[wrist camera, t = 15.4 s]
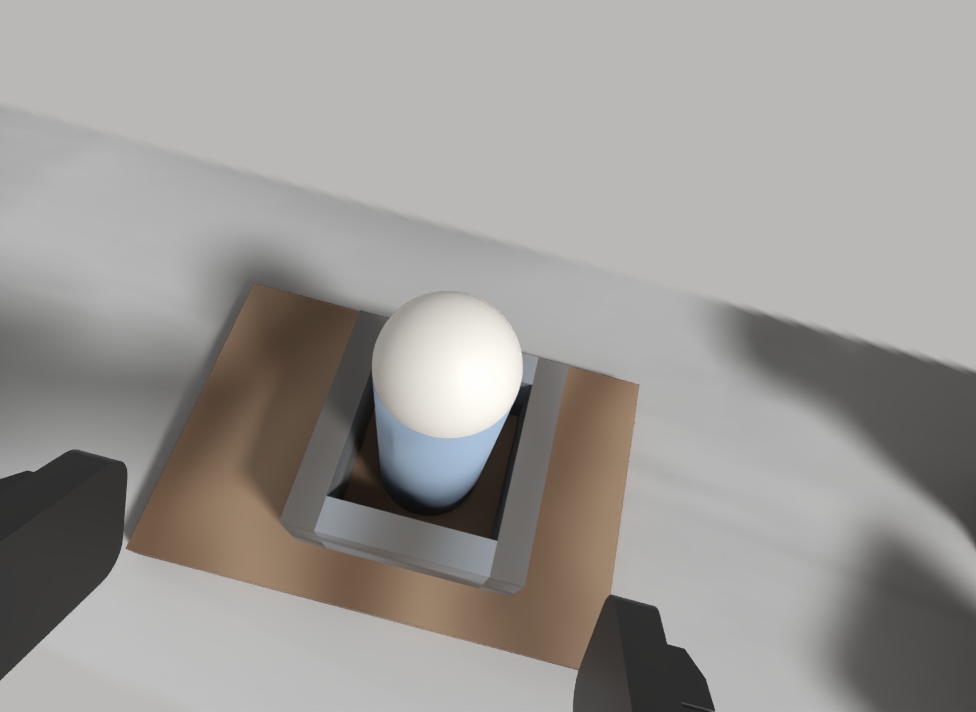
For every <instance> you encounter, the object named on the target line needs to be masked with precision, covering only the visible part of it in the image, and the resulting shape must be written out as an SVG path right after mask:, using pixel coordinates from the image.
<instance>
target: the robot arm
mask: <svg viewBox="0 0 976 712" xmlns="http://www.w3.org/2000/svg"><path fill="white" fill-rule="evenodd" d="M126 489H127V468H126V465H125V464H124V463H123V462H121V461H118V460H114V459H110V458H106V457H103V456H99V455H95V454H92V453H88V452H84V451H80V450H70V451H68V452H66V453H64V454H63V455H61V456H59V457H58V458H56V459H55V460H53V461H51V462H50V463H48V464H47V465H45V466H43V467H42V468H40V469H39V470H37V471H35V472H31V471H24V472H21V473H18V474H15V475H12V476H9V477H5V478H2V479H0V680H1V679H2V678H3V677H4V676H5V675H6V674H7V673H8V672H9V671H10V670H12V668H14V667H15V666H16V665H17V664H18V663H19V662H20V661H21V660H22V659H23V658H24V657H25V656H26V655H27V654H28V653H29V652H30V651H31V650H32V649H33V648H34V647H35V646H36V645H37V644H38V643H39V642H40V641H42V640H43V639H44V638H45V637H46V636H47V635H48V634H49V633H50V632H51V631H52V630H53V629H54V628H55V627H56V626H57V625H58V624H59V623H60V622H61V621H62V620H63V619H64V618H65V617H66V616H67V615H68V614H69V613H71V612H72V611H73V610H74V609H75V608H76V607H77V606H78V605H79V604H80V603H81V602H82V601H83V600H84V599H85V598H86V597H87V596H88V595H89V594H90V593H91V592H92V591H93V590H94V589H95V588H96V587H97V586H98V585H99V584H101V583H102V581H103V580H104V579H105V578H106V577H107V576H108V574H109V573H110V571H111V570H112V568H113V566H114V565H115V563H116V560H117V558H118V556H119V553H120V550H121V546H122V541H123V529H124V515H125V502H126ZM573 712H715V708H714V705H713V702H712V699H711V695H710V692H709V689H708V685H707V682H706V679H705V677H704V676H703V674H702V673H701V672H700V670H699V669H698V667H697V666H696V665H695V663H694V662H693V660H692V659H691V657H690V656H689V655H688V653H687V652H686V650H685V649H683V648H679V647H676V646H672V645H668V644H667V642H666V638H665V634H664V630H663V626H662V622H661V618H660V614H659V611H658V609H657V608H656V607H655V606H652V605H648V604H644V603H641V602H637V601H633V600H630V599H626V598H622V597H618V596H615V595H609V596H608V597H607V598H606V600H605V602H604V604H603V606H602V609H601V612H600V614H599V617H598V620H597V622H596V625H595V628H594V630H593V633H592V636H591V638H590V641H589V643H588V646H587V649H586V651H585V654H584V657H583V659H582V662H581V665H580V668H579V671H578V675H577V679H576V684H575V690H574V700H573Z"/></svg>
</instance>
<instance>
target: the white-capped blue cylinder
mask: <svg viewBox="0 0 976 712" xmlns="http://www.w3.org/2000/svg"><path fill="white" fill-rule="evenodd" d="M522 374H523V359H522V352H521V348H520V344H519V341H518V339H517V336H516V334H515V332H514V330H513V328H512V327H511V325H510V324H509V322H508V321H507V320H506V318H505V317H504V316H503V315H502V314H501V313H500V312H499V311H498V310H497V309H496V308H494V307H493V306H492V305H490V304H489V303H487V302H486V301H484V300H482V299H480V298H478V297H476V296H473V295H470V294H466V293H462V292H454V291H440V292H433V293H429V294H425V295H422V296H420V297H417V298H415V299H413V300H411V301H409V302H408V303H406V304H405V305H403V306H402V307H400V308H399V309H398V310H397V311H396V312H395V313H394V314H393V315H392V316H391V317H390V318H389V320H388V321H387V322H386V323H385V325H384V326H383V328H382V330H381V332H380V334H379V336H378V339H377V341H376V343H375V347H374V351H373V358H372V378H373V390H374V402H375V413H376V425H377V437H378V449H379V460H380V472H381V478H382V482H383V485H384V487H385V489H386V491H387V493H388V494H389V496H390V497H391V498H392V499H393V501H394V502H396V503H397V504H398V505H399V506H400V507H402V508H403V509H405V510H407V511H409V512H411V513H414V514H418V515H424V516H434V515H441V514H444V513H447V512H450V511H452V510H454V509H455V508H457V507H458V506H460V505H461V504H462V503H463V502H464V501H465V500H466V499H467V498H468V497H469V496H470V494H471V493H472V491H473V489H474V487H475V485H476V483H477V480H478V478H479V476H480V474H481V472H482V470H483V468H484V465H485V463H486V461H487V459H488V457H489V455H490V453H491V450H492V448H493V446H494V444H495V442H496V440H497V437H498V435H499V433H500V431H501V429H502V427H503V425H504V422H505V420H506V418H507V416H508V414H509V412H510V410H511V407H512V405H513V403H514V401H515V399H516V397H517V395H518V391H519V388H520V385H521V381H522Z"/></svg>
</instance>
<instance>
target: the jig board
mask: <svg viewBox="0 0 976 712" xmlns="http://www.w3.org/2000/svg"><path fill="white" fill-rule="evenodd" d="M388 320H389V318H387V317H383V316H380V315H376V314H372V313H368V312H364V311H358V310H354V309H350V308H346V307H343V306H339V305H335V304H331V303H327V302H324V301H320V300H316V299H312V298H308V297H305V296H301V295H297V294H293V293H289V292H286V291H282V290H278V289H274V288H270V287H266V286H263V285H259V284H255V283H254V284H253V286H252V288H251V290H250V293H249V295H248V297H247V299H246V301H245V303H244V305H243V307H242V309H241V311H240V313H239V315H238V317H237V319H236V321H235V324H234V326H233V328H232V330H231V332H230V334H229V336H228V338H227V340H226V342H225V344H224V346H223V348H222V350H221V352H220V355H219V357H218V359H217V361H216V363H215V365H214V367H213V369H212V371H211V373H210V375H209V377H208V379H207V381H206V383H205V385H204V388H203V390H202V392H201V394H200V396H199V398H198V400H197V402H196V404H195V406H194V408H193V410H192V412H191V414H190V416H189V419H188V421H187V423H186V425H185V427H184V429H183V431H182V433H181V435H180V437H179V439H178V441H177V443H176V445H175V447H174V450H173V452H172V454H171V456H170V458H169V460H168V462H167V464H166V466H165V468H164V470H163V472H162V474H161V476H160V478H159V480H158V483H157V485H156V487H155V489H154V491H153V493H152V495H151V497H150V499H149V501H148V503H147V505H146V507H145V509H144V511H143V514H142V516H141V518H140V520H139V522H138V524H137V526H136V528H135V530H134V532H133V534H132V536H131V538H130V540H129V542H128V544H127V547H126V549H128V550H130V551H133V552H135V553H138V554H141V555H145V556H149V557H152V558H156V559H160V560H164V561H168V562H171V563H175V564H179V565H183V566H186V567H190V568H194V569H198V570H202V571H205V572H209V573H213V574H217V575H220V576H224V577H228V578H232V579H236V580H239V581H243V582H247V583H251V584H255V585H258V586H262V587H266V588H270V589H273V590H277V591H281V592H285V593H289V594H292V595H296V596H300V597H304V598H307V599H311V600H315V601H319V602H323V603H326V604H330V605H334V606H338V607H342V608H345V609H349V610H353V611H357V612H360V613H364V614H368V615H372V616H376V617H379V618H383V619H387V620H391V621H394V622H398V623H402V624H406V625H410V626H413V627H417V628H421V629H425V630H428V631H432V632H436V633H440V634H444V635H447V636H451V637H455V638H459V639H463V640H466V641H470V642H474V643H478V644H481V645H485V646H489V647H493V648H497V649H500V650H504V651H508V652H512V653H515V654H519V655H523V656H527V657H531V658H534V659H538V660H542V661H546V662H549V663H553V664H557V665H561V666H565V667H568V668H572V669H576V670H579V668H580V665H581V662H582V659H583V657H584V654H585V651H586V649H587V646H588V643H589V641H590V638H591V636H592V633H593V630H594V628H595V625H596V622H597V620H598V617H599V614H600V612H601V609H602V606H603V604H604V602H605V600H606V598H607V597H608V596H609V595H610V593H611V586H612V579H613V571H614V564H615V557H616V550H617V542H618V535H619V528H620V521H621V513H622V506H623V499H624V492H625V484H626V477H627V470H628V463H629V455H630V448H631V441H632V434H633V426H634V419H635V412H636V405H637V397H638V390H639V384H635V383H632V382H628V381H624V380H620V379H616V378H613V377H609V376H605V375H601V374H597V373H594V372H590V371H586V370H582V369H578V368H575V367H571V366H568V365H566V364H562V363H558V362H555V361H551V360H547V359H543V358H539V357H535V356H532V355H528V354H524V353H522V359H523V374H522V381H521V385H520V388H519V391H518V395H517V397H516V399H515V401H514V403H513V405H512V407H511V410H510V412H509V414H508V416H507V418H506V420H505V422H504V425H503V427H502V429H501V431H500V433H499V435H498V437H497V440H496V442H495V444H494V446H493V448H492V450H491V453H490V455H489V457H488V459H487V461H486V463H485V465H484V468H483V470H482V472H481V474H480V476H479V478H478V480H477V483H476V485H475V487H474V489H473V491H472V493H471V494H470V496H469V497H468V498H467V499H466V500H465V501H464V502H463V503H462V504H461V505H460V506H458V507H457V508H455V509H454V510H452V511H450V512H447V513H444V514H441V515H434V516H424V515H418V514H414V513H411V512H409V511H407V510H405V509H403V508H402V507H400V506H399V505H398V504H397V503H396V502H394V501H393V499H392V498H391V497H390V496H389V494H388V493H387V491H386V489H385V487H384V485H383V482H382V478H381V472H380V460H379V449H378V437H377V425H376V413H375V402H374V390H373V378H372V358H373V351H374V347H375V343H376V341H377V339H378V336H379V334H380V332H381V330H382V328H383V326H384V325H385V323H386V322H387V321H388Z"/></svg>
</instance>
